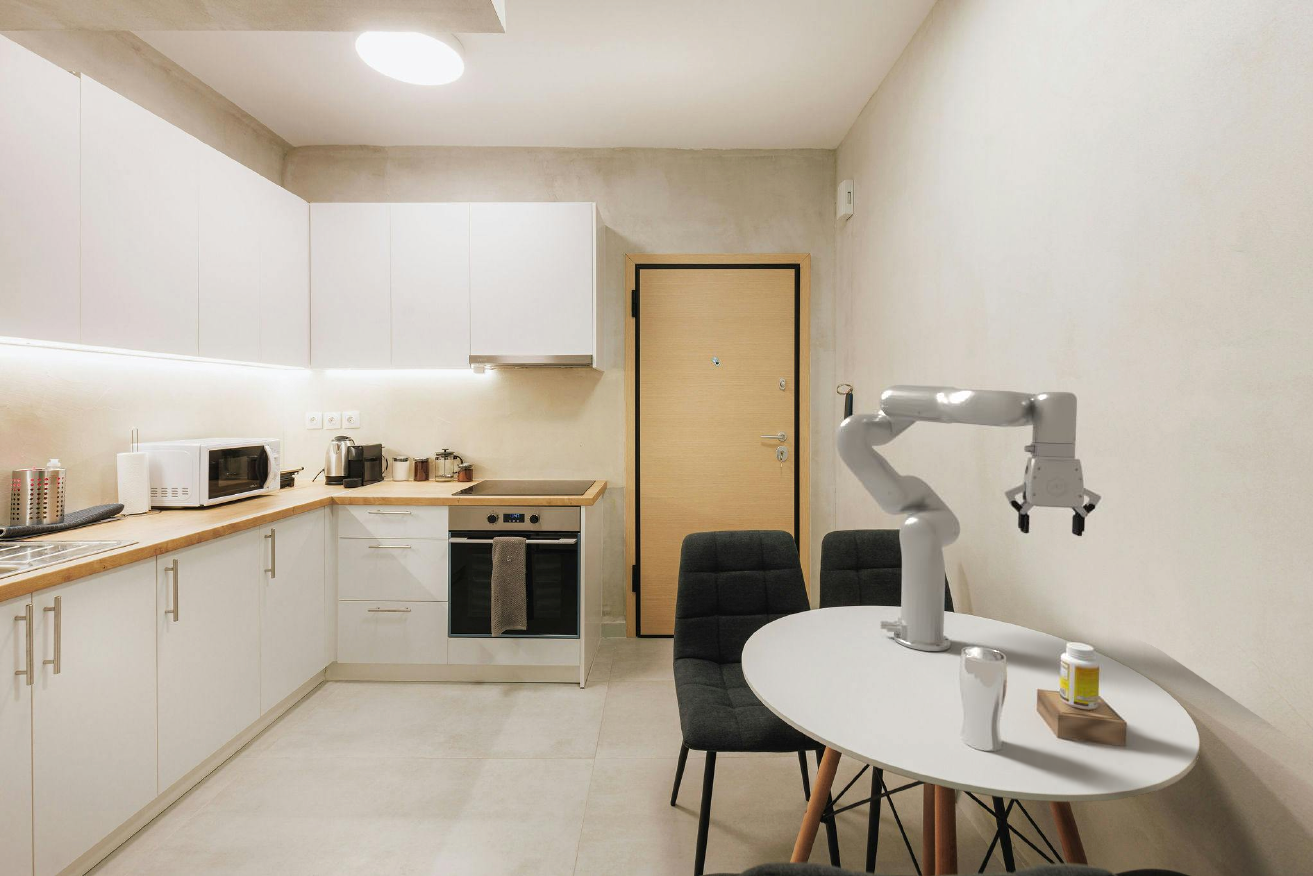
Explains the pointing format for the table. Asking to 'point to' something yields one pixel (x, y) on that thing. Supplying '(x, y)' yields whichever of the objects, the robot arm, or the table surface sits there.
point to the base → (1081, 720)
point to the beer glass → (982, 696)
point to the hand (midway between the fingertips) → (1050, 533)
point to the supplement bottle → (1079, 676)
